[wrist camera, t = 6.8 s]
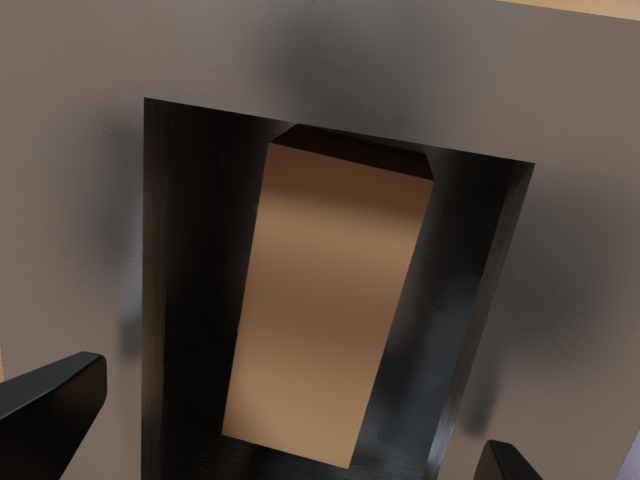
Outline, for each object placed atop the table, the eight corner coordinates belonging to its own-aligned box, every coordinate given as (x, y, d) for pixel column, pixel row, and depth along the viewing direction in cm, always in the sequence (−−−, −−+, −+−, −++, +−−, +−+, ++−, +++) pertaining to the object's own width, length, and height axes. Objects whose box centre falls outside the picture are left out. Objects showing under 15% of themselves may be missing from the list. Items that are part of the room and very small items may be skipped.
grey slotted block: (471, 482, 17) (508, 692, 11) (142, 407, 18) (26, 566, 12) (621, 52, 12) (830, 47, 6) (145, -18, 13) (-51, -78, 7)
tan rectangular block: (356, 395, 16) (347, 469, 13) (252, 368, 16) (221, 434, 13) (425, 154, 13) (434, 180, 10) (296, 124, 13) (268, 142, 10)
